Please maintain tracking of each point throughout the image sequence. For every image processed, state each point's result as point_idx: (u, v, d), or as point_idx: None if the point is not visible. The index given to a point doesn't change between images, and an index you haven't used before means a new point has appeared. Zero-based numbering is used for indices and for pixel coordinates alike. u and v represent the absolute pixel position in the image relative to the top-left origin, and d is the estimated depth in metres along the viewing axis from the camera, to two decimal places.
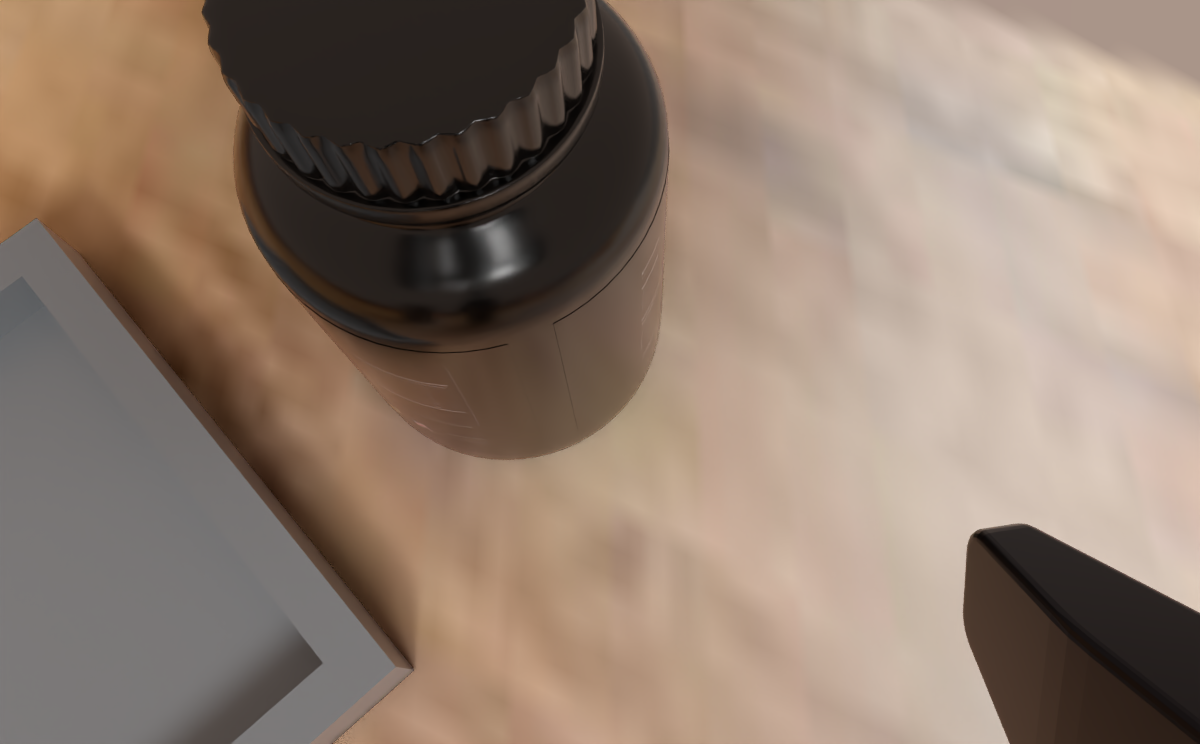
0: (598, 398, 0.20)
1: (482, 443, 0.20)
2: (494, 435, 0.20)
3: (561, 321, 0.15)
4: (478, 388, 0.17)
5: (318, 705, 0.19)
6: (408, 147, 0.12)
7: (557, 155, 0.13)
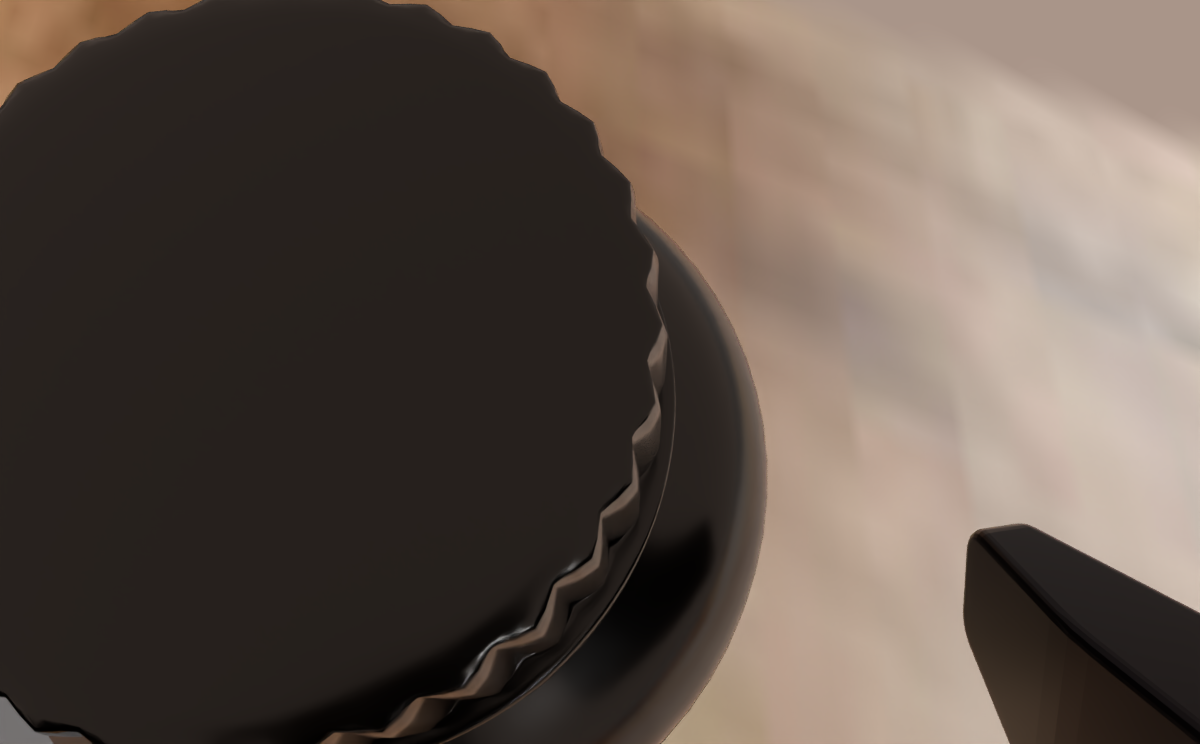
0: None
1: None
2: None
3: None
4: None
5: None
6: None
7: (590, 633, 0.07)
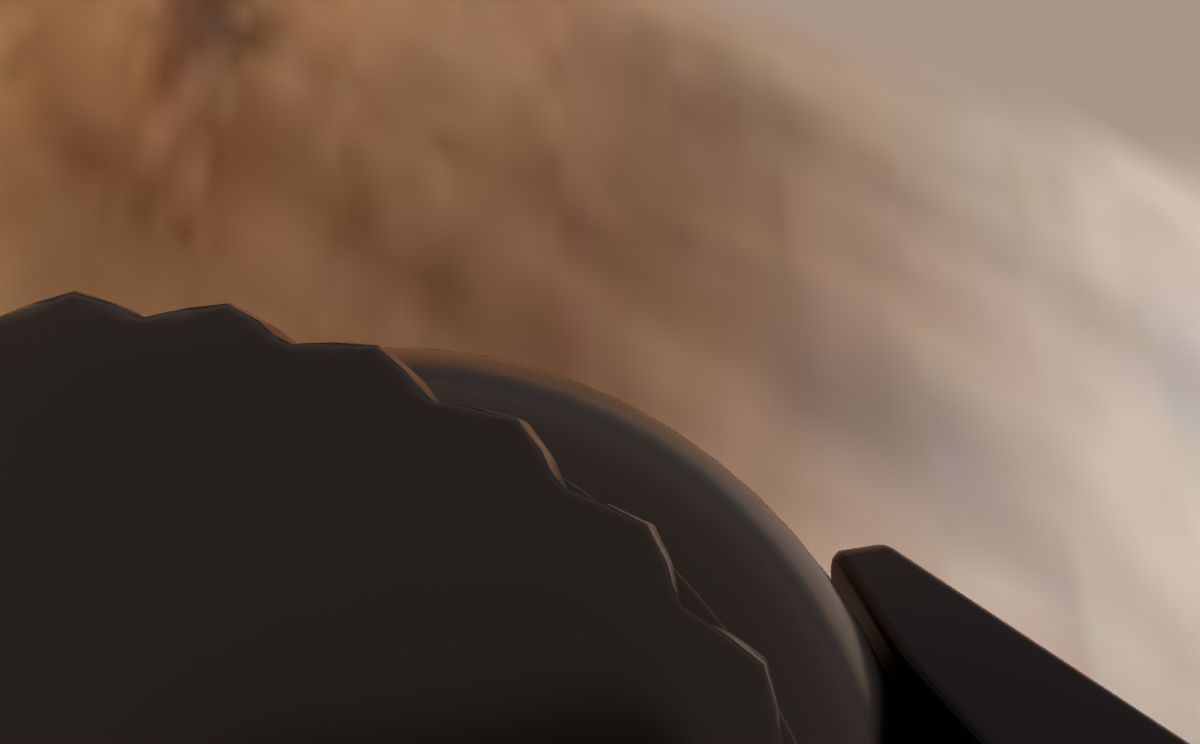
0: None
1: None
2: None
3: None
4: None
5: None
6: None
7: None
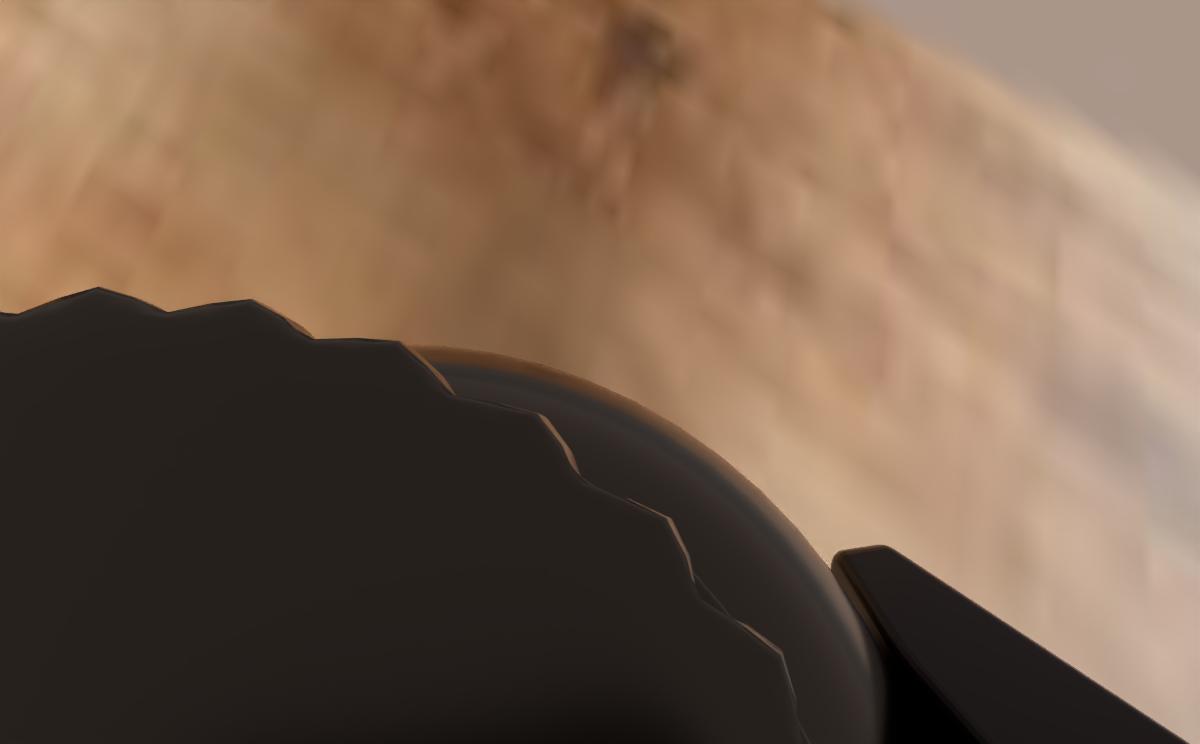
0: None
1: None
2: None
3: None
4: None
5: None
6: None
7: None
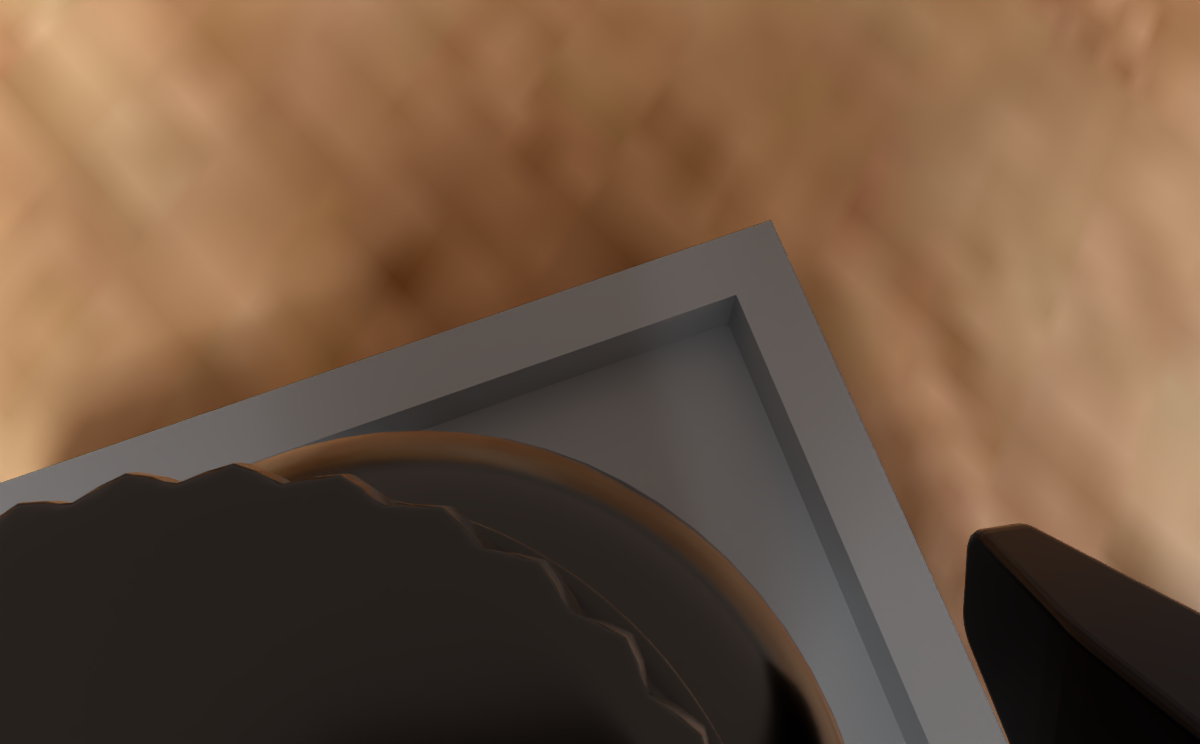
0: None
1: None
2: None
3: None
4: None
5: None
6: None
7: None
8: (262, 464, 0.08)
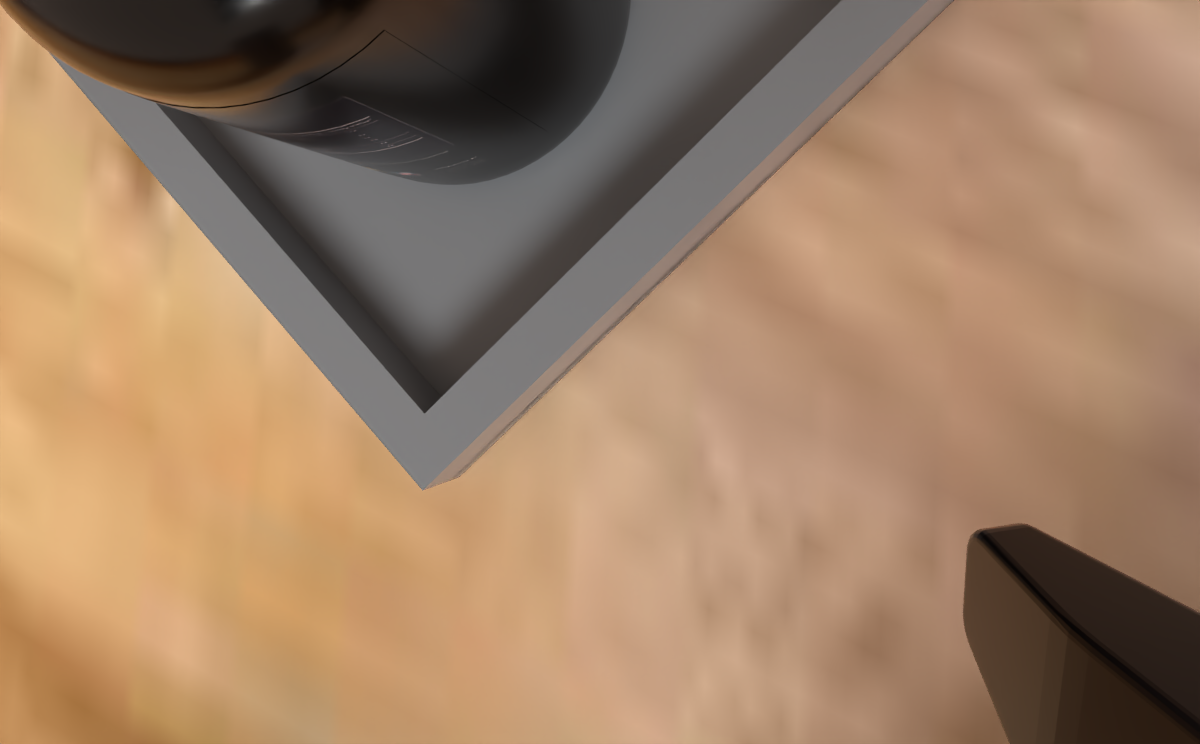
0: (574, 49, 0.16)
1: (477, 163, 0.17)
2: (480, 148, 0.17)
3: None
4: (405, 102, 0.13)
5: (882, 7, 0.16)
6: None
7: None
8: None
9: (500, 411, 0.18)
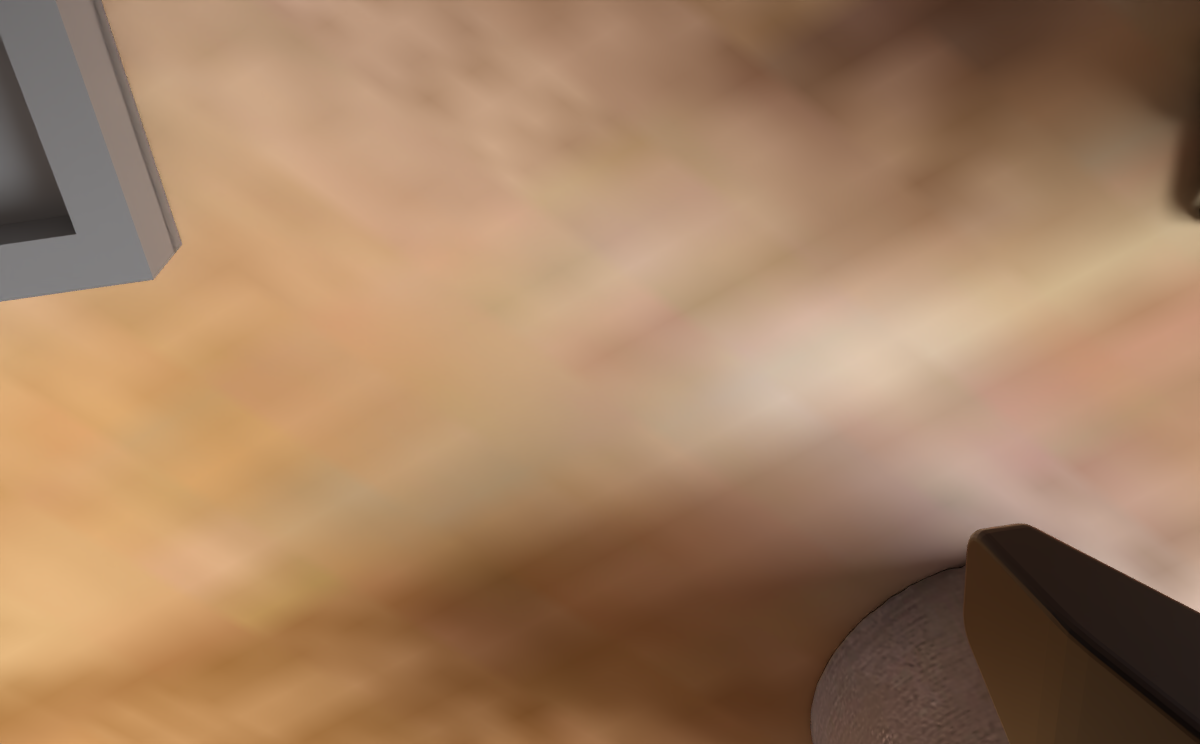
0: None
1: None
2: None
3: None
4: None
5: None
6: None
7: None
8: None
9: (110, 162, 0.17)
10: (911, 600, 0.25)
